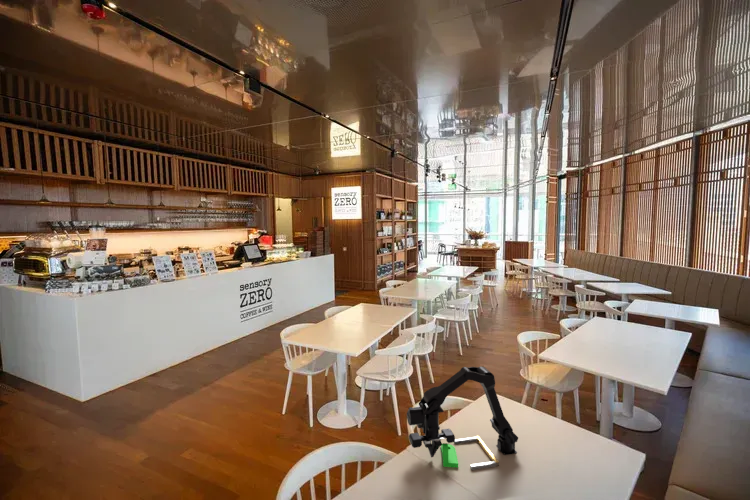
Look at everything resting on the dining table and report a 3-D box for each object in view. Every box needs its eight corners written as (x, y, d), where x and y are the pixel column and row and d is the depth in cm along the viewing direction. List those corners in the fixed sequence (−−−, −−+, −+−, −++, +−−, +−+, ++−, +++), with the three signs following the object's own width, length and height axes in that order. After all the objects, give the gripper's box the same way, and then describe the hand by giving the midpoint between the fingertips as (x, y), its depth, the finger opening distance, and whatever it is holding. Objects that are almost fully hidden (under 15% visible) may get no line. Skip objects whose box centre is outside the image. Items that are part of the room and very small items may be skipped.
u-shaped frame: (478, 439, 154) (478, 435, 154) (498, 465, 137) (498, 461, 137) (454, 442, 152) (454, 439, 152) (471, 470, 135) (471, 465, 135)
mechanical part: (458, 468, 136) (458, 449, 136) (443, 467, 137) (443, 448, 136) (454, 448, 148) (454, 431, 148) (441, 447, 149) (441, 430, 148)
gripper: (445, 408, 149) (445, 441, 150) (405, 413, 146) (405, 447, 147) (455, 423, 138) (455, 458, 139) (412, 428, 135) (412, 464, 136)
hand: (431, 456), depth 141 cm, fingers closed
